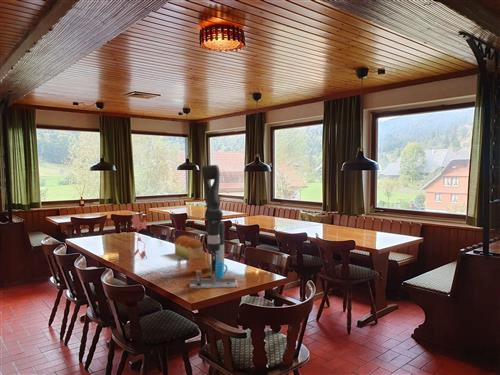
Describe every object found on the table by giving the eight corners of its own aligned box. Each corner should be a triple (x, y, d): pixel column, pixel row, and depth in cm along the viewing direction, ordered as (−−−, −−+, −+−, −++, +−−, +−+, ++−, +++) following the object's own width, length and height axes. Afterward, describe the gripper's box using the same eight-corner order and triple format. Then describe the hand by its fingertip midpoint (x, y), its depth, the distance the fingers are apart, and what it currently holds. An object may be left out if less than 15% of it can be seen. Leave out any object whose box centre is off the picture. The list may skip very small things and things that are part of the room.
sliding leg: (211, 279, 232) (211, 262, 231) (216, 279, 232) (216, 262, 231) (211, 283, 224) (211, 266, 223) (216, 282, 224) (216, 265, 223)
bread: (203, 257, 298) (203, 239, 297) (188, 260, 290) (188, 240, 290) (188, 252, 318) (188, 234, 317) (174, 254, 310) (174, 236, 310)
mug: (215, 278, 240) (215, 266, 240) (208, 275, 247) (208, 263, 246) (230, 275, 247) (230, 263, 247) (223, 272, 254) (223, 260, 254)
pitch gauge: (190, 283, 230) (190, 270, 230) (236, 282, 233) (236, 269, 233) (189, 288, 220) (189, 274, 220) (237, 287, 223) (237, 273, 223)
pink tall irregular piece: (136, 254, 308) (135, 211, 305) (153, 259, 289) (152, 214, 287) (118, 257, 297) (117, 213, 295) (134, 263, 279) (133, 216, 276)
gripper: (207, 240, 235) (207, 267, 236) (207, 244, 221) (207, 273, 222) (219, 239, 236) (219, 267, 237) (220, 244, 222) (220, 273, 223)
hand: (213, 270), depth 229 cm, fingers closed on sliding leg, 3 cm apart
